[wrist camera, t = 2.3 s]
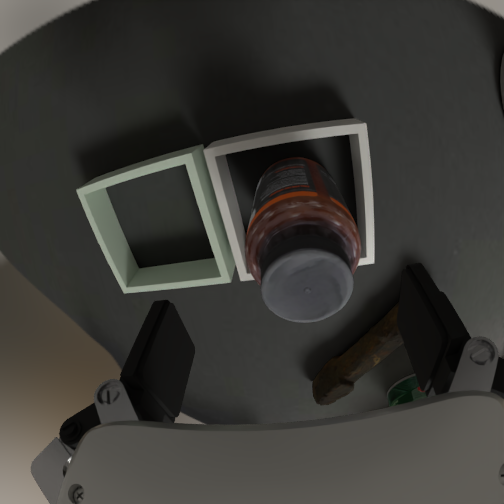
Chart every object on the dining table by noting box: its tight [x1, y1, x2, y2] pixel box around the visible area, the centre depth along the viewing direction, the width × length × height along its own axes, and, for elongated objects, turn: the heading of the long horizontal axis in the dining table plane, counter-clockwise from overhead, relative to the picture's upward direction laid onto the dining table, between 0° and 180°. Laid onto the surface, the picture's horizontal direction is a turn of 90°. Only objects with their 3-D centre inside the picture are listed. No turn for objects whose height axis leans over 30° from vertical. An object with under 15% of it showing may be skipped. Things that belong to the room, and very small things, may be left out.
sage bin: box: [77, 144, 236, 293], centre depth 22 cm, size 10×10×3 cm
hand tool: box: [312, 302, 404, 405], centre depth 27 cm, size 19×4×5 cm, turn 149°
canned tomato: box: [387, 374, 436, 407], centre depth 29 cm, size 8×8×11 cm
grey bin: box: [203, 118, 374, 281], centre depth 20 cm, size 10×10×3 cm
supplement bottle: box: [245, 157, 361, 323], centre depth 17 cm, size 6×6×11 cm
